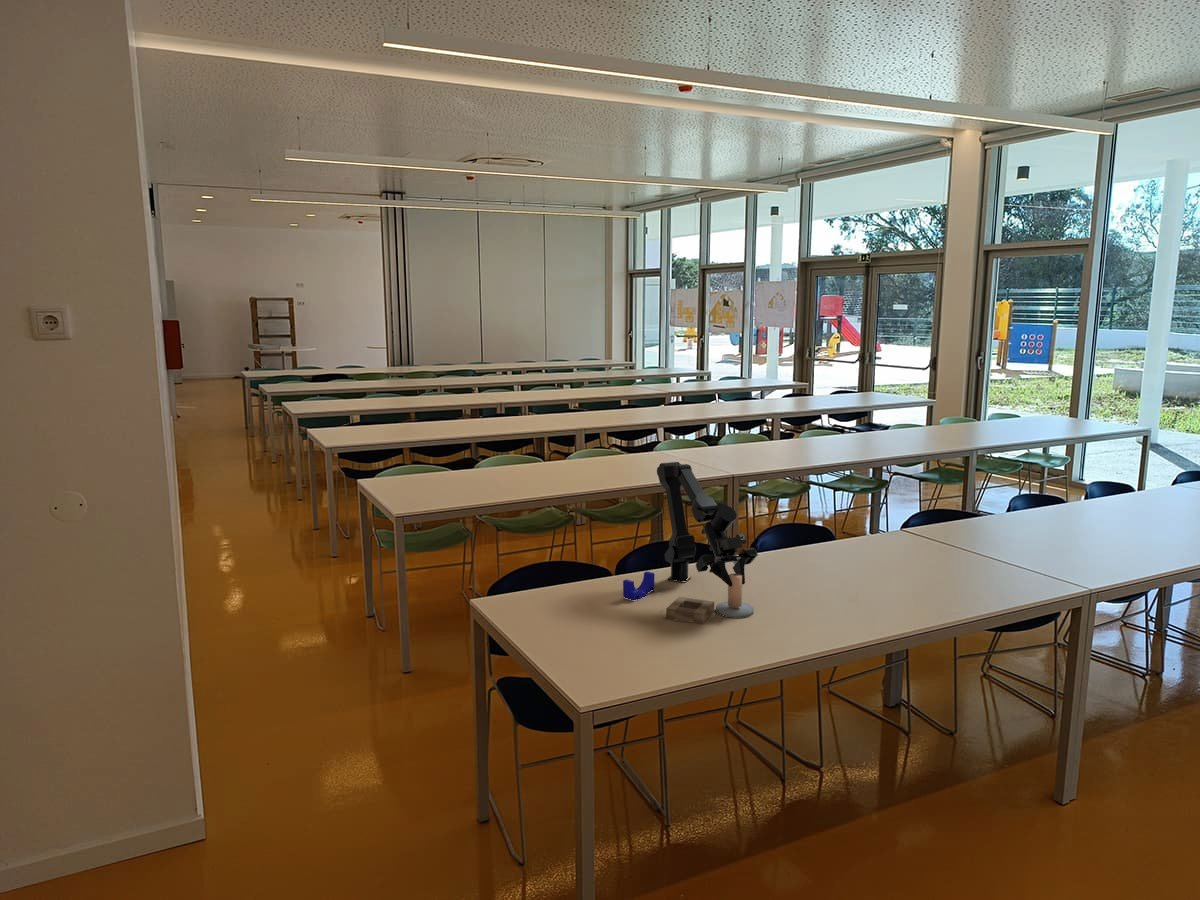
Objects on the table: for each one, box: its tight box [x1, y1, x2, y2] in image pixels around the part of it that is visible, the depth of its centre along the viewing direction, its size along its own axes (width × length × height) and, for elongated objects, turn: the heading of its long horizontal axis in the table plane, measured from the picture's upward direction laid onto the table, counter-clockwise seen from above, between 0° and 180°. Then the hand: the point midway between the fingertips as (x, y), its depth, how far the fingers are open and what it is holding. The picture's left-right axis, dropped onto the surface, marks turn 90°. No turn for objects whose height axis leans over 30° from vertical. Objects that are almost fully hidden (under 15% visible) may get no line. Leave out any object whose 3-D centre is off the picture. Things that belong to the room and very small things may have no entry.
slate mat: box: [715, 601, 754, 619], centre depth 240 cm, size 11×11×1 cm
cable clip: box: [622, 571, 655, 600], centre depth 255 cm, size 12×4×6 cm, turn 139°
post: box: [727, 573, 743, 607], centre depth 240 cm, size 4×4×9 cm
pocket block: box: [665, 596, 715, 625], centre depth 238 cm, size 11×11×3 cm
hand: (737, 584), depth 238 cm, fingers closed on post, 4 cm apart
